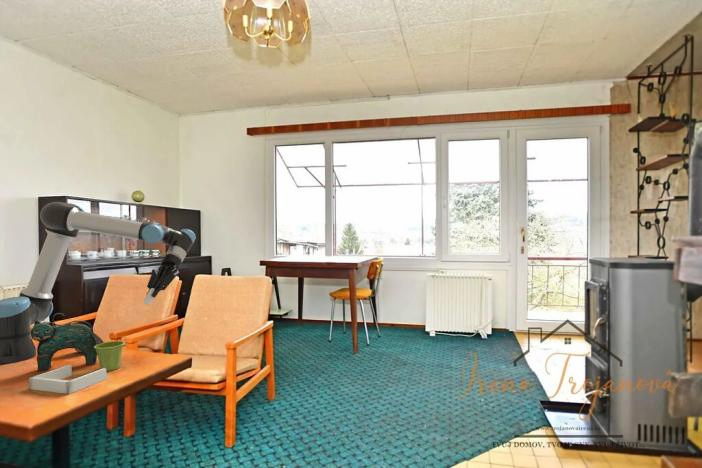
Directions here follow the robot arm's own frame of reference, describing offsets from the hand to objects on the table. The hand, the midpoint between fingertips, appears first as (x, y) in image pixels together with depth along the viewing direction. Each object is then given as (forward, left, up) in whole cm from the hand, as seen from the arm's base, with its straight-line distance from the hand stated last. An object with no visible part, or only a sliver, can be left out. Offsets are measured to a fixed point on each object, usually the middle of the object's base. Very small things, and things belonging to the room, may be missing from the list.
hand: (146, 303), depth 168 cm
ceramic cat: (-17, -21, -20) cm, 34 cm away
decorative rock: (-27, -4, -21) cm, 34 cm away
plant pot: (+1, -19, -20) cm, 28 cm away
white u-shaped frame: (+1, -34, -20) cm, 40 cm away
